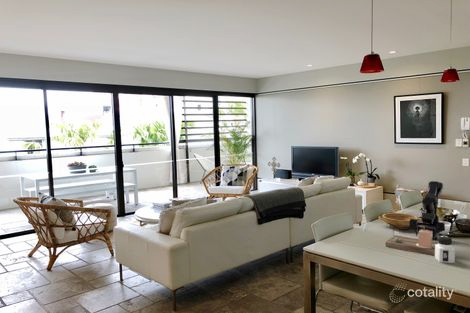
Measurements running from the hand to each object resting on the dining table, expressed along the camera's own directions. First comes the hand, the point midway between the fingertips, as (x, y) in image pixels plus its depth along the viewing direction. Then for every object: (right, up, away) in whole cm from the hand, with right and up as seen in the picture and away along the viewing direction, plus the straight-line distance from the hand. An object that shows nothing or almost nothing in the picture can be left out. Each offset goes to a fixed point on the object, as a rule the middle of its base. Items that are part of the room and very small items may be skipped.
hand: (425, 236), depth 216 cm
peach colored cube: (+1, -5, +1) cm, 5 cm away
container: (+3, -10, -14) cm, 18 cm away
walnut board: (-3, -8, +9) cm, 12 cm away
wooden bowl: (+10, -5, +54) cm, 55 cm away
